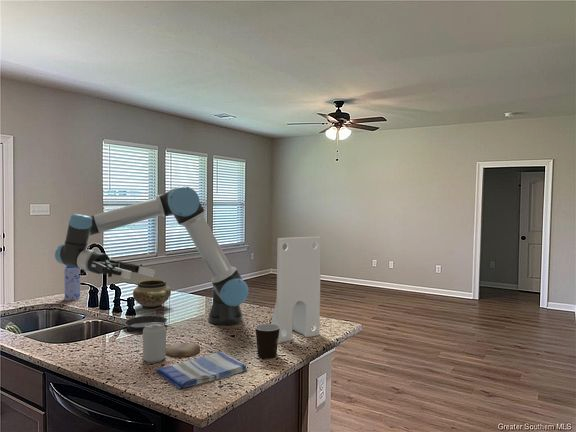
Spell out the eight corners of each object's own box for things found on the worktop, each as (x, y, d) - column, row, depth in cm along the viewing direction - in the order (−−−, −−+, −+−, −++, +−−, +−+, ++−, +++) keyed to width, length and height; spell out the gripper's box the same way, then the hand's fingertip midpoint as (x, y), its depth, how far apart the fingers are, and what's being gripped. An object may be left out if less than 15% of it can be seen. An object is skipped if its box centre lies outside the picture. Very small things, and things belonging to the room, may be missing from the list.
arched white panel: (299, 325, 184) (301, 234, 183) (319, 334, 172) (321, 236, 171) (259, 332, 173) (260, 235, 172) (277, 342, 161) (278, 238, 160)
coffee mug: (270, 361, 142) (270, 332, 142) (249, 356, 146) (250, 328, 146) (288, 351, 152) (289, 324, 151) (268, 347, 156) (269, 320, 156)
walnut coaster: (199, 344, 158) (199, 341, 158) (201, 355, 147) (201, 352, 147) (165, 346, 155) (165, 343, 155) (165, 358, 144) (165, 355, 144)
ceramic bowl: (133, 309, 218) (125, 281, 216) (166, 297, 227) (159, 270, 224) (144, 321, 197) (135, 291, 195) (180, 307, 206) (172, 278, 204)
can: (144, 365, 138) (144, 328, 137) (141, 357, 144) (141, 322, 144) (168, 361, 141) (168, 325, 141) (163, 354, 148) (163, 320, 147)
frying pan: (165, 319, 191) (165, 311, 191) (175, 341, 162) (175, 331, 161) (122, 323, 184) (122, 315, 184) (125, 347, 154) (125, 337, 154)
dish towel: (249, 372, 135) (249, 363, 134) (180, 393, 119) (180, 383, 119) (220, 356, 148) (220, 348, 148) (155, 373, 132) (155, 364, 132)
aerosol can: (70, 296, 231) (70, 260, 231) (83, 297, 230) (83, 261, 230) (60, 300, 223) (60, 262, 223) (74, 300, 223) (74, 263, 222)
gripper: (115, 270, 166) (160, 282, 160) (64, 273, 142) (116, 287, 136) (119, 251, 166) (165, 263, 160) (69, 251, 142) (121, 264, 136)
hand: (142, 274), depth 148 cm, fingers open, 13 cm apart
